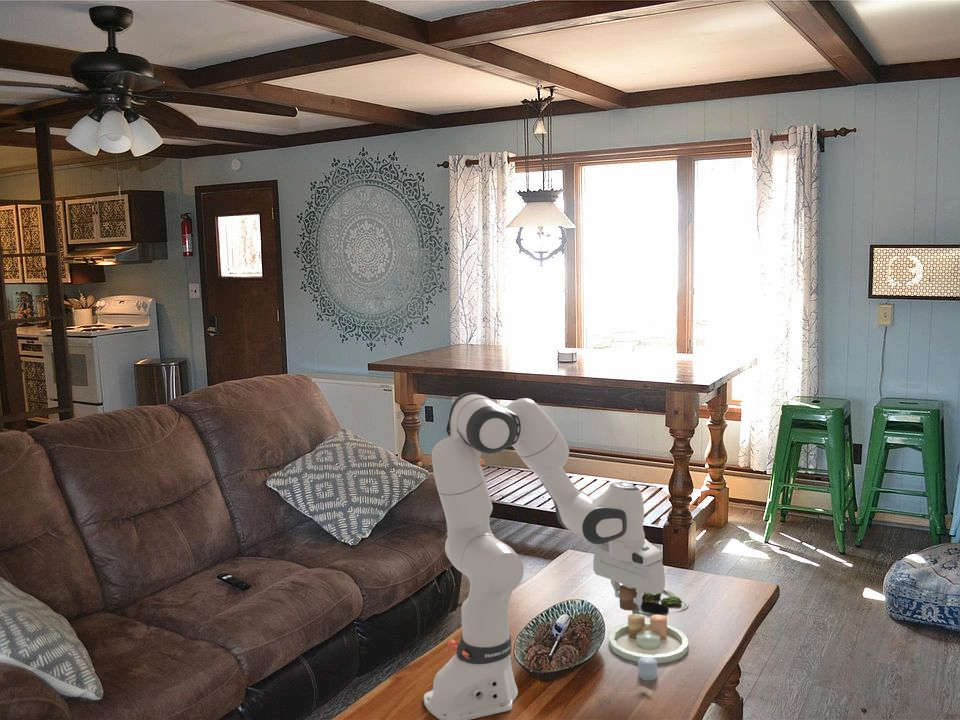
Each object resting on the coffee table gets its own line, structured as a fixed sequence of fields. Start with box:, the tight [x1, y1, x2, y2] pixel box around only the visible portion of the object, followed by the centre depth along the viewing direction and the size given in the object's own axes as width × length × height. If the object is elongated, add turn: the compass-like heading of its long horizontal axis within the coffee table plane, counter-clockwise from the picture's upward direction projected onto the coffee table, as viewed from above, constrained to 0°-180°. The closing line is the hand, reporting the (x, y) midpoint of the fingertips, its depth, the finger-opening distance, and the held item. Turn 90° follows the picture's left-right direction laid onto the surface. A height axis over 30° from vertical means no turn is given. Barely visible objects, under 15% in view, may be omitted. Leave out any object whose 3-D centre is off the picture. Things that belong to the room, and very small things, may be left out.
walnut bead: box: [619, 584, 638, 611], centre depth 210 cm, size 4×4×5 cm
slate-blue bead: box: [637, 657, 658, 682], centre depth 204 cm, size 4×4×5 cm
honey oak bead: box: [627, 613, 646, 639], centre depth 225 cm, size 4×4×5 cm
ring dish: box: [608, 621, 689, 664], centre depth 220 cm, size 20×20×4 cm
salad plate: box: [631, 589, 689, 617], centre depth 247 cm, size 19×18×5 cm
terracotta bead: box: [649, 615, 668, 640], centre depth 224 cm, size 4×4×5 cm
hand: (628, 600), depth 210 cm, fingers closed on walnut bead, 4 cm apart
